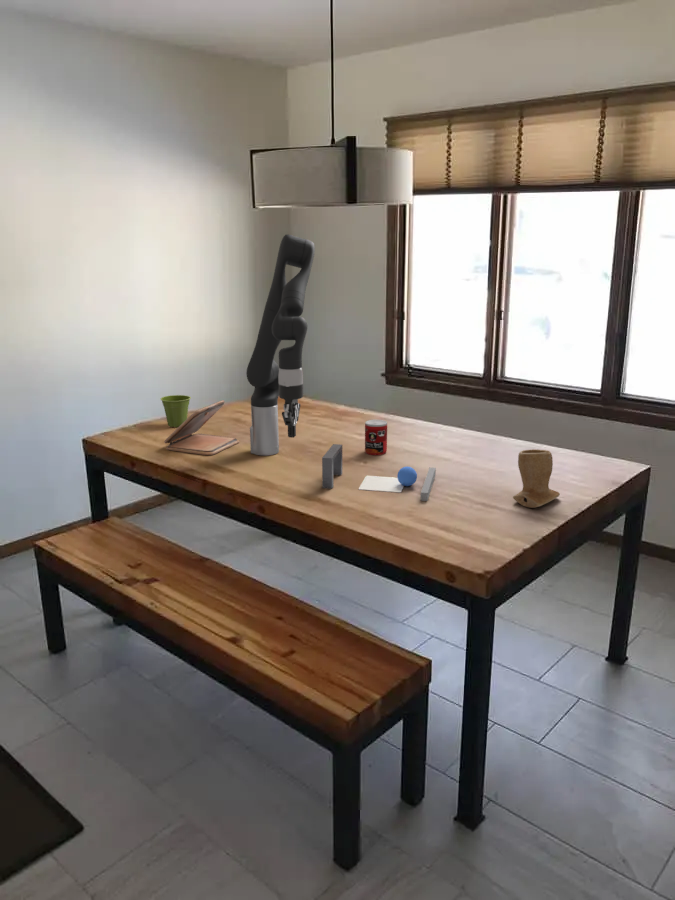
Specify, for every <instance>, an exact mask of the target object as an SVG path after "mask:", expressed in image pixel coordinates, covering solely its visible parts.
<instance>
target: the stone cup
mask: <svg viewBox="0 0 675 900" xmlns="http://www.w3.org/2000/svg"><path fill="white" fill-rule="evenodd" d="M517 458H518V459H517V464H518V465H517V467H518V470H519V474H520V477H521V482H522V489H521V491H519V492H518V493H517V494H515V495H514V496H512V499H514V501H515V502H516V503H519V504H520V505H521V506H522V507H526V508H529V509H530V508H532V509H533V508H539V507H542V506H544V505H546V504H548V503H550V502H552V501H554V500H555V499H557V498H558V497H559V496H560V494H561V493H560V492H559V491H557V490H554V489H551V488H550V487H549V486H550V485H549V483H550V480H551V475H552V473H553V467H554V466H553V465H554V463H553V453H552V452H551V451H550V450H547V449H539V448H537V449H534V448H533V449H524V450H520V451H519V453H518V456H517Z"/></svg>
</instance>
